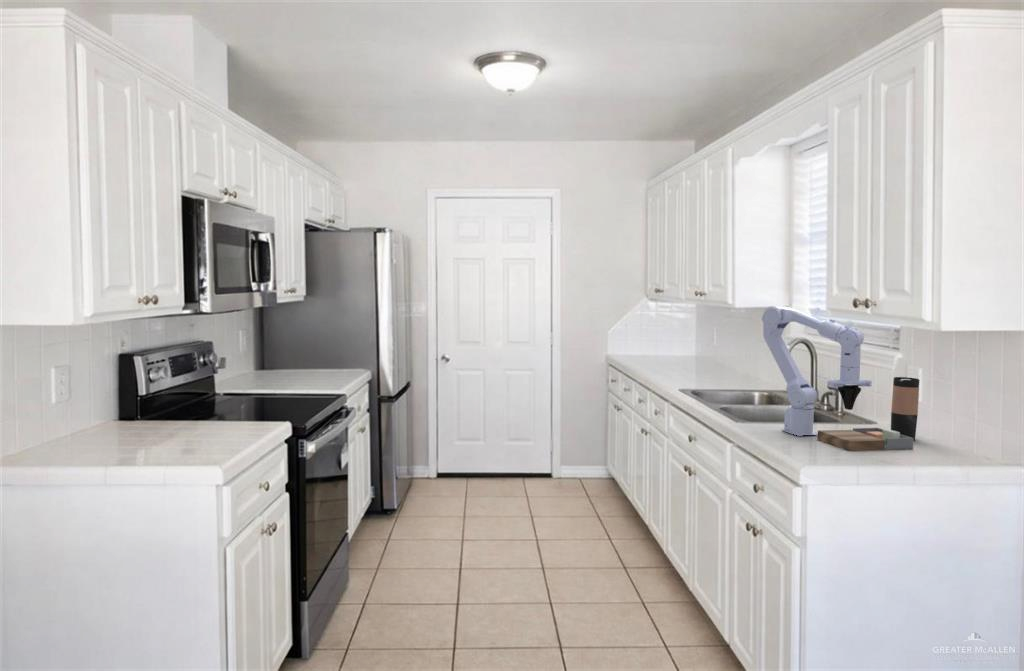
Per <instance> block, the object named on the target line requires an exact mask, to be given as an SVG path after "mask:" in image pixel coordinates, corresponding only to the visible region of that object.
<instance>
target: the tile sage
mask: <svg viewBox="0 0 1024 671" xmlns="http://www.w3.org/2000/svg"><path fill="white" fill-rule="evenodd" d="M886 438H900V432H897V431H893V430H891V428H890V429H889V428H888V429H884V430H883V434H882V440H886Z"/></svg>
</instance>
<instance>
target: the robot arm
mask: <svg viewBox="0 0 1024 671" xmlns="http://www.w3.org/2000/svg"><path fill="white" fill-rule="evenodd" d="M761 321H762V323H763V324H762V328H763V330H762V332H763V334H762V336H763V339H764V341H765V343H766V345H767V347H768V348H769V351H770V352H771V354H772V356H773V359H774V361H775V362H776V365H777V366H778V368H779V370H780V372H781V374H782V376H783V378H784V380H785V381H786V387H785V388H786V389H785V390H786V392H787V395H788V396H787V397H788V398H787V399H788V402H789V404H790V405H789V406H787V407H786V408H785V412H784V425H783V428H781V431H783V432H785V433H789V434H790V435H793V434H794V436H796V435H797V437H804V436H803V435H817V436H818V432H817V433H816V432H814V415H815V413H814V412H815V406H814V404H816V402H817V400H818V397H819V396H818V392H817V390H816V389H815V388H813V387H812V386H811V384H810V382H809V381H808V380H807V379H805V378H804V377H803V376H802V373H801V371H800V369H799V367H798V366H797V364H796V362H795V360H794V358H793V356H792V354H791V352H790V351H789V348H788V346H787V344H786V342H785V341H784V338H783V337H782V335H783V334H784V331H785V328H786V327H787V326H788V325H789V324H790V323H793V322H795V323H798V324H800V325H803V326H806V327H808V328H812V329H814V330H816V331H817V333H818V335H819V336H820V337H824V338H826V339H827V340H830V341H833V342H836V343H837V344H839V345H840V347H841V348H840V364H839V366H840V367H839V379H835V380H827V383H826V384H827V385H826V387H829V388H837V391H838V393H839V394H840V396H841V399H842V402H843V407H844V409H845V410H849V411H851V410H853V408H854V405H855V402H856V400H857V397H858V396H859V394H860V393H861V391H862V387H870V388H871V387H872V380H869V379H860V378H861V377H860V374H861V355H862V354H861V349H862V348H861V345H863V343H864V341H865V340H864V339H865V336H864V334H863V332H862V331H860V330H858V328H850V326H849V325H847V324H846V325H843V324H840V323H838V322H836V319H835V318H834V319H833V318H829V319H828V318H827V319H824V320H821V319H818V318H817V317H814V316H812V315H809V314H807V313H805V312H802V311H800V310H799V309H795V308H793V307H788V306H786V305H782V306H781V305H780V306H773V305H770V306H768V307H767V308H766V309H765V310H764V312H763V314H762V316H761Z"/></svg>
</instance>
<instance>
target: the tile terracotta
mask: <svg viewBox="0 0 1024 671" xmlns="http://www.w3.org/2000/svg"><path fill="white" fill-rule="evenodd" d="M882 434H883V433H882V432H879V431H873V432H866V435H869V436H872V437H876V438H879V439H882Z"/></svg>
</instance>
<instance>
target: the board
mask: <svg viewBox="0 0 1024 671" xmlns="http://www.w3.org/2000/svg"><path fill="white" fill-rule="evenodd" d="M817 434H818V435H817V439H819V440H818V441H820V440H821V441H820V442H823V441H824V442H823V443H825V442H826V443H825V444H828V443H829V444H828V445H831V446H834V447H837V448H839V447H840V448H839V449H842V448H843V450H845V451H849V452H861V451H862V452H867V451H885V450H884V449H885V440H882V439H879V438H876V437H872V436H869V435H866V434H863V433H860V432H856V431H853V429H828V430H827V429H825V430H824V429H823V430H817Z"/></svg>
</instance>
